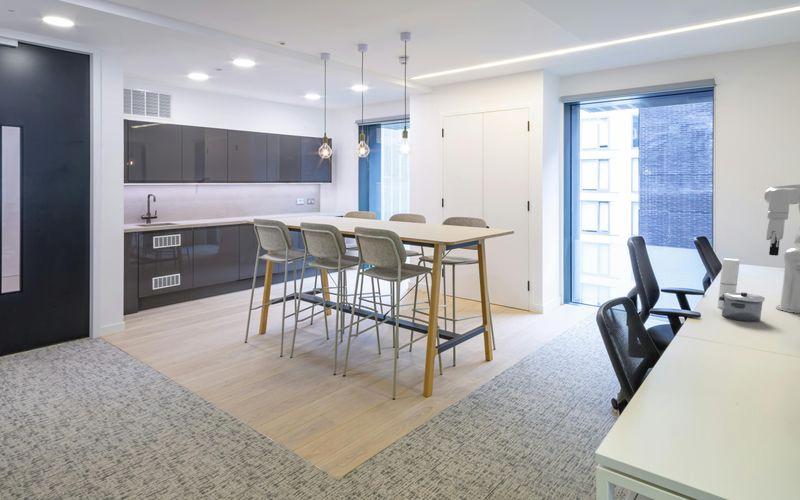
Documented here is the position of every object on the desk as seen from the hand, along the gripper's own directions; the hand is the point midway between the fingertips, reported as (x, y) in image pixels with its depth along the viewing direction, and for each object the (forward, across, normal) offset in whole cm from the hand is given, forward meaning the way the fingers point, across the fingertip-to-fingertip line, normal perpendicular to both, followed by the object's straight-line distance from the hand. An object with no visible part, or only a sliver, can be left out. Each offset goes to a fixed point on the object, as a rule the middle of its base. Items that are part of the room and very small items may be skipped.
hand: (773, 255), depth 229 cm
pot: (+30, +11, -8) cm, 33 cm away
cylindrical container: (+30, -6, -18) cm, 36 cm away
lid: (+20, +11, -8) cm, 24 cm away
